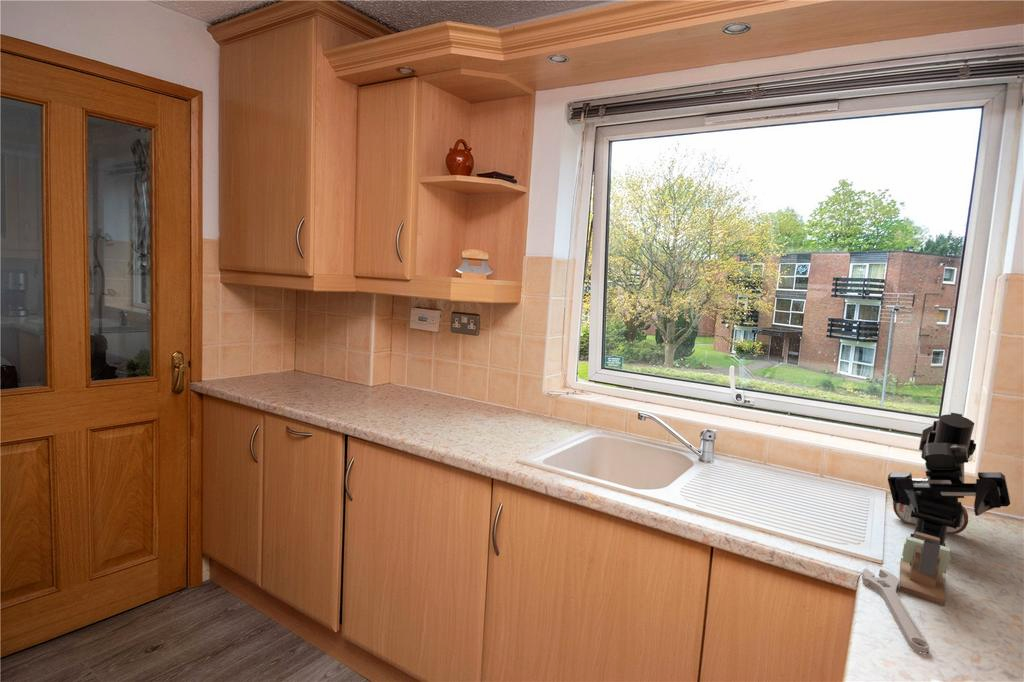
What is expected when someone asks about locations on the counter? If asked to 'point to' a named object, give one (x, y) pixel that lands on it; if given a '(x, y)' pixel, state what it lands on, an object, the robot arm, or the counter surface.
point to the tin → (905, 516)
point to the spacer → (913, 542)
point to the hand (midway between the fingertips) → (945, 512)
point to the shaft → (929, 557)
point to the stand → (922, 577)
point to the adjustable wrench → (896, 607)
